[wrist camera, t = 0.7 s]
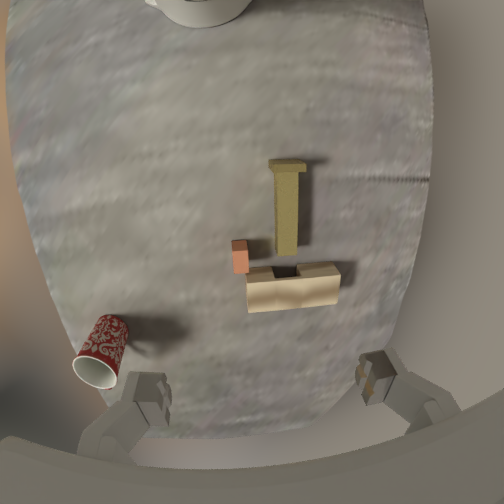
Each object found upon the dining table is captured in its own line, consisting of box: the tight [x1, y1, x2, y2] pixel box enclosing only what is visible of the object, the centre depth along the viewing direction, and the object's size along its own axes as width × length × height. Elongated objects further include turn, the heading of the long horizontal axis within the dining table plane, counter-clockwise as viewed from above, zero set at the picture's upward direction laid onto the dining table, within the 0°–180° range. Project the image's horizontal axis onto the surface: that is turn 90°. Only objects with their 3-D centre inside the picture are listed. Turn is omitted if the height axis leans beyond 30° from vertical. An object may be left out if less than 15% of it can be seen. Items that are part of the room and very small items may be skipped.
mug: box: [73, 315, 129, 390], centre depth 51 cm, size 13×9×14 cm
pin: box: [269, 159, 306, 256], centre depth 46 cm, size 15×5×5 cm, turn 2°
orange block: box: [232, 240, 249, 274], centre depth 49 cm, size 4×2×4 cm, turn 2°
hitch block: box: [245, 261, 341, 313], centre depth 52 cm, size 6×16×5 cm, turn 92°
